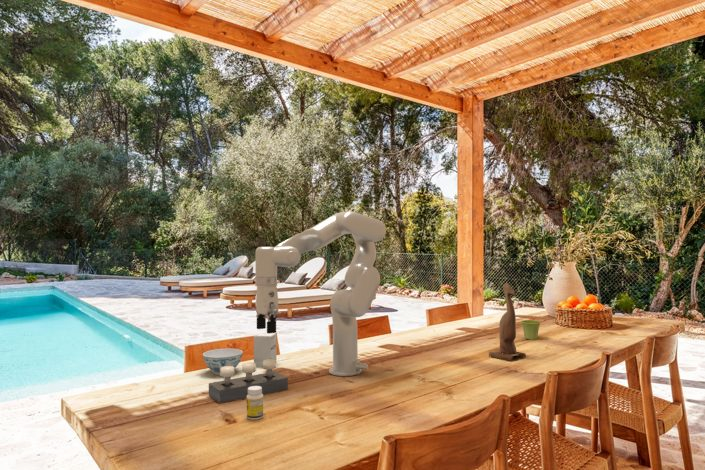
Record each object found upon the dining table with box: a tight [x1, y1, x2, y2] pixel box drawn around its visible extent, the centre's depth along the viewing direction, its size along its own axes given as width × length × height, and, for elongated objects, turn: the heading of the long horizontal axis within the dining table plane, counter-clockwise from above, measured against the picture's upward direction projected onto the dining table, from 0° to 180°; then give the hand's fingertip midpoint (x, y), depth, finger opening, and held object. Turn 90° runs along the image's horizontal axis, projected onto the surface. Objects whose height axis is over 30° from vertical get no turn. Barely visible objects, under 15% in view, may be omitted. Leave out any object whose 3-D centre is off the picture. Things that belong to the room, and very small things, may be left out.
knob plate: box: [208, 370, 289, 404], centre depth 163 cm, size 24×10×4 cm, turn 125°
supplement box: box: [253, 332, 277, 368], centre depth 199 cm, size 7×7×13 cm
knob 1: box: [219, 366, 235, 386], centre depth 158 cm, size 4×4×6 cm
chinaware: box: [202, 348, 244, 376], centre depth 188 cm, size 15×15×8 cm
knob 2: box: [262, 359, 277, 378], centre depth 167 cm, size 4×4×6 cm
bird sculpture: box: [488, 282, 527, 362], centre depth 208 cm, size 11×12×32 cm
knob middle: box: [241, 362, 257, 382], centre depth 163 cm, size 4×4×6 cm
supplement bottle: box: [246, 386, 264, 421], centre depth 140 cm, size 5×5×8 cm
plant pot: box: [520, 319, 541, 341], centre depth 247 cm, size 9×9×9 cm
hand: (266, 330), depth 170 cm, fingers open, 9 cm apart
